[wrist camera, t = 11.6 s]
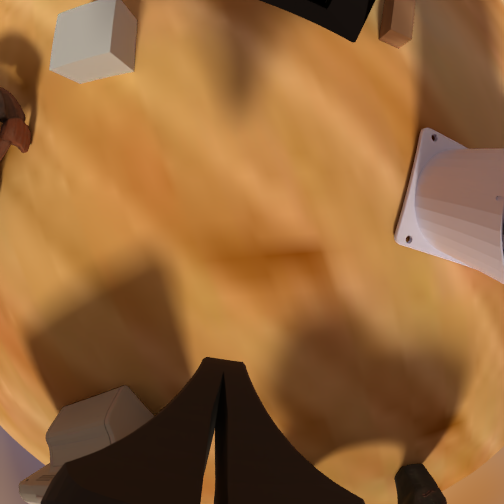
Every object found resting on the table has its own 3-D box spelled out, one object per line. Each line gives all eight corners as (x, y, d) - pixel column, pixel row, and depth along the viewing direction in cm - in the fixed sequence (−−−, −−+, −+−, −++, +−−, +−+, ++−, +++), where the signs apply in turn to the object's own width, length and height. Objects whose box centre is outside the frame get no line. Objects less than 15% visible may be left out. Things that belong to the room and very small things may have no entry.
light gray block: (137, 21, 15) (116, -6, 11) (134, 71, 16) (110, 52, 12) (85, 34, 15) (58, 14, 11) (80, 84, 16) (49, 70, 12)
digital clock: (82, 455, 25) (49, 525, 14) (35, 392, 23) (-18, 462, 12) (219, 448, 24) (211, 549, 13) (178, 374, 22) (143, 490, 11)
